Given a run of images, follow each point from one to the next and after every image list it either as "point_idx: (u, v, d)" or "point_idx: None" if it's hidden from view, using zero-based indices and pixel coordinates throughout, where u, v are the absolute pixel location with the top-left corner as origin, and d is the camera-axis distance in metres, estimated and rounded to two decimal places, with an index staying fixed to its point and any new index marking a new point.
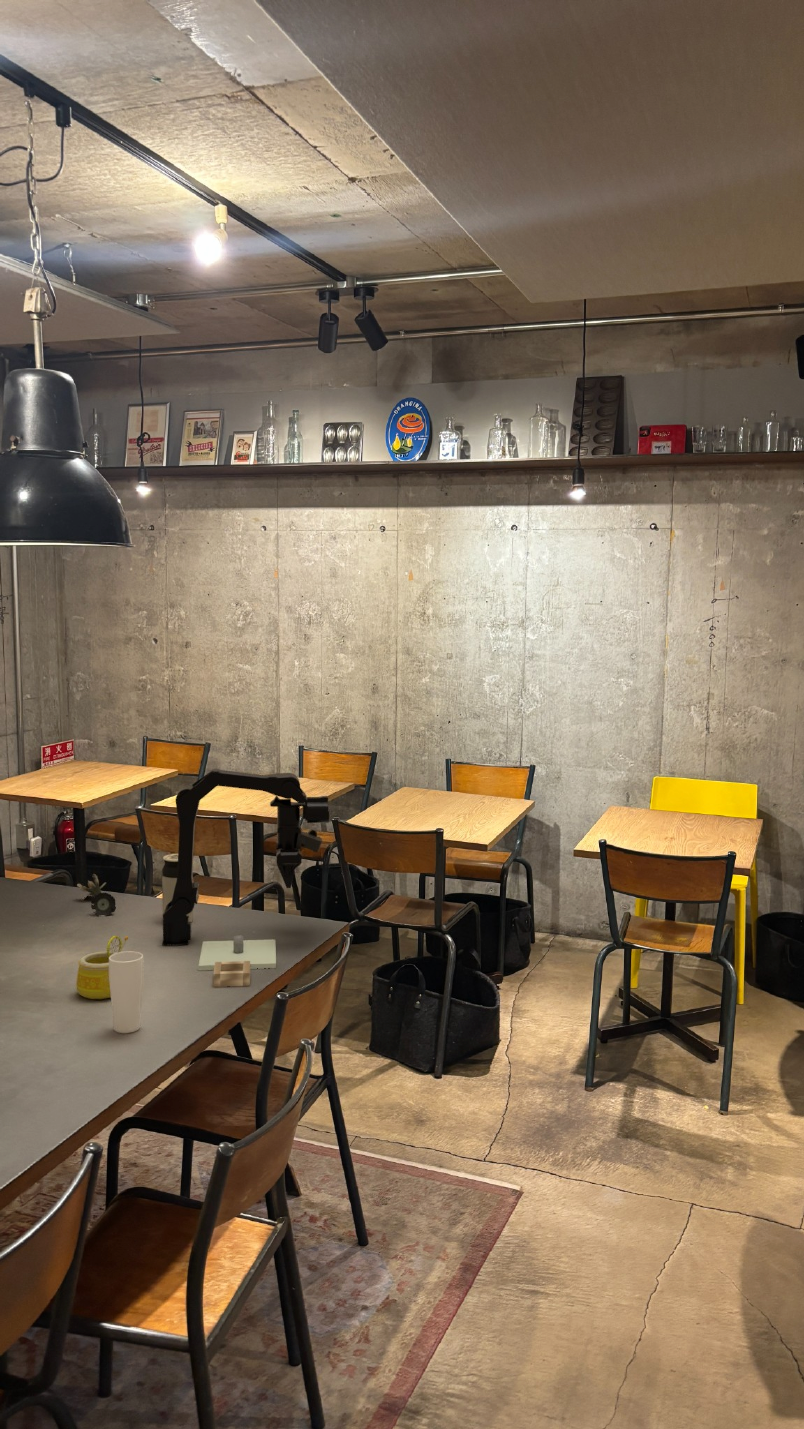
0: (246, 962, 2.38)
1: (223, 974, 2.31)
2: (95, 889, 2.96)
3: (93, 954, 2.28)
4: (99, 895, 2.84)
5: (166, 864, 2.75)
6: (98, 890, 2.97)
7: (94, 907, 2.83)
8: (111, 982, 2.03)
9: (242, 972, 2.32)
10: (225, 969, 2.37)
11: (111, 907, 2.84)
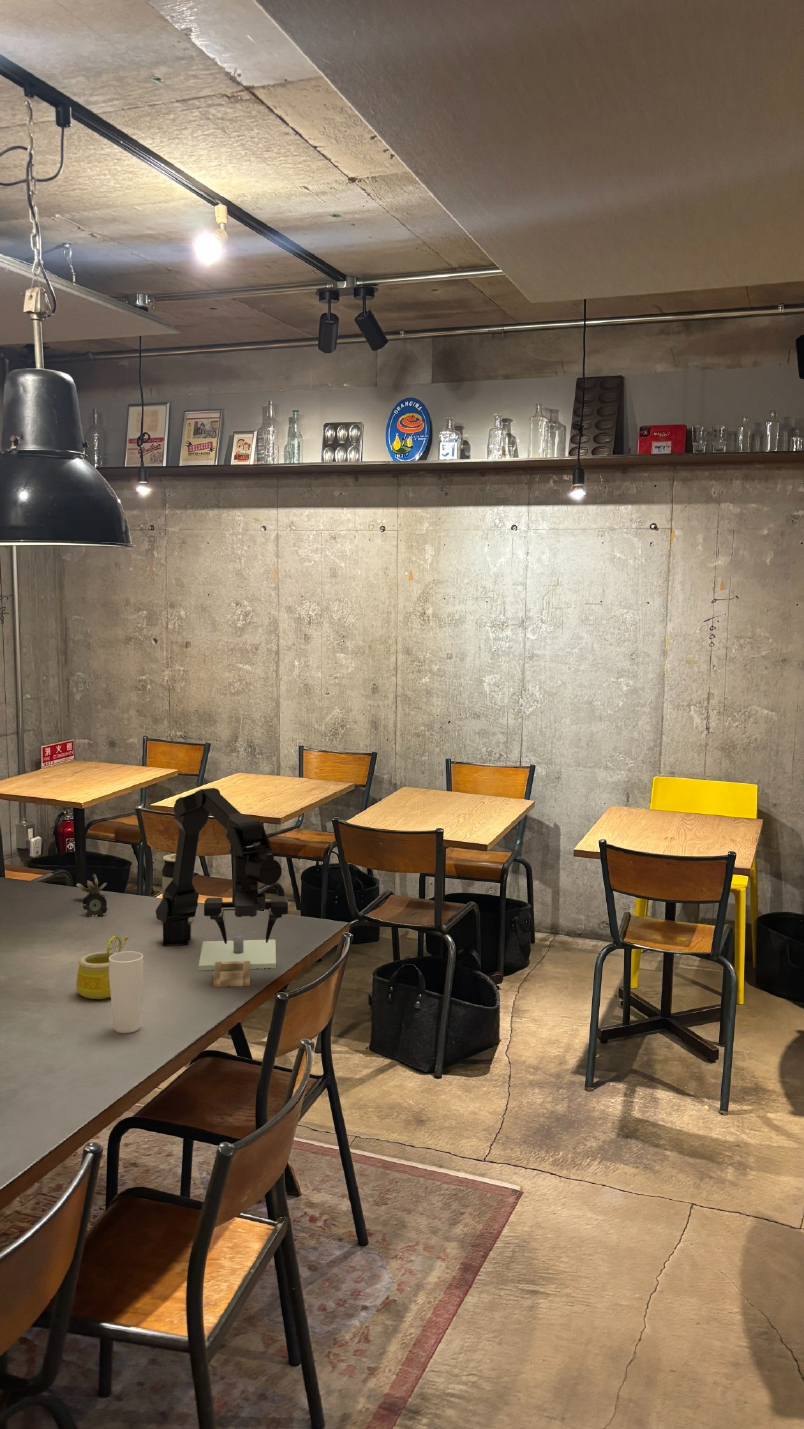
0: (246, 962, 2.38)
1: (223, 974, 2.31)
2: (93, 889, 2.96)
3: (93, 954, 2.28)
4: (91, 896, 2.83)
5: (166, 864, 2.75)
6: (96, 890, 2.96)
7: (86, 908, 2.82)
8: (111, 982, 2.03)
9: (242, 972, 2.32)
10: (225, 969, 2.37)
11: (103, 908, 2.83)
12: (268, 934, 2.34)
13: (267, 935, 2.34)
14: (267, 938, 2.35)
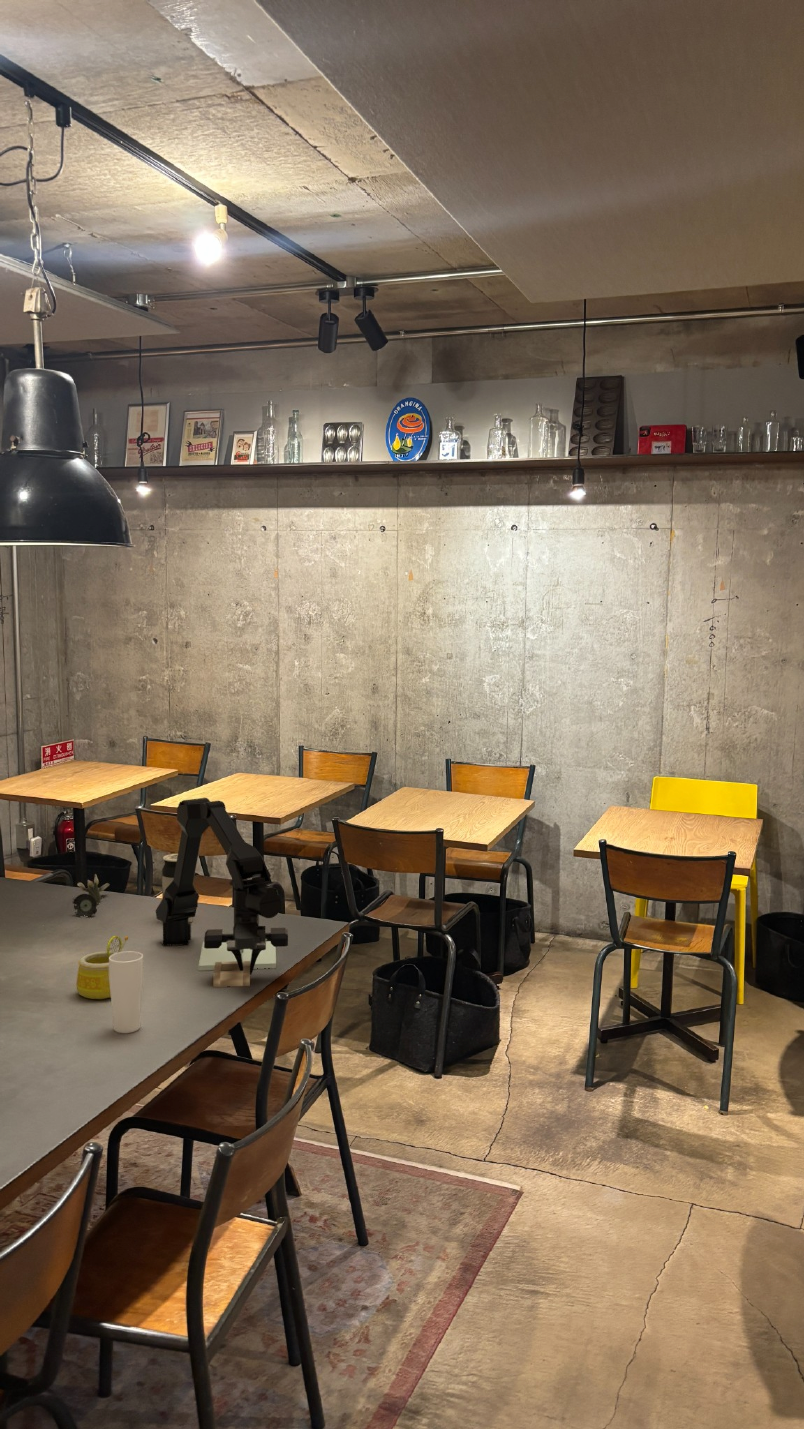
0: (246, 962, 2.38)
1: (223, 974, 2.31)
2: (92, 889, 2.96)
3: (93, 954, 2.28)
4: (82, 896, 2.83)
5: (166, 864, 2.75)
6: (95, 890, 2.96)
7: (76, 907, 2.82)
8: (111, 982, 2.03)
9: (242, 972, 2.32)
10: (225, 969, 2.37)
11: (93, 909, 2.83)
12: (252, 966, 2.34)
13: (251, 967, 2.34)
14: (251, 970, 2.35)
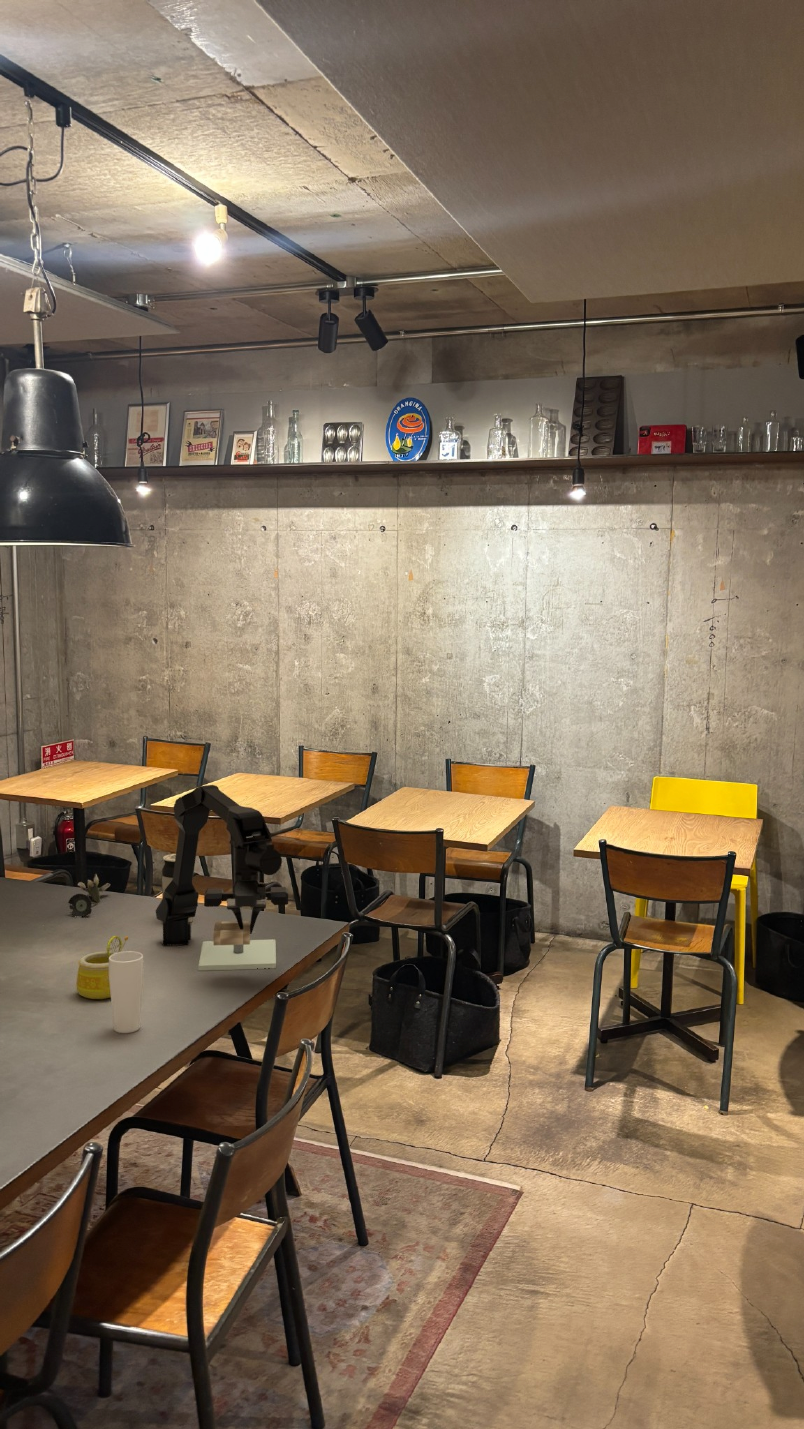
0: (246, 922, 2.37)
1: (223, 932, 2.30)
2: (92, 889, 2.96)
3: (93, 954, 2.28)
4: (78, 896, 2.83)
5: (166, 864, 2.75)
6: (95, 890, 2.96)
7: (72, 907, 2.82)
8: (111, 982, 2.03)
9: (242, 931, 2.31)
10: (225, 929, 2.36)
11: (88, 909, 2.82)
12: (252, 925, 2.33)
13: (251, 926, 2.33)
14: (251, 929, 2.34)
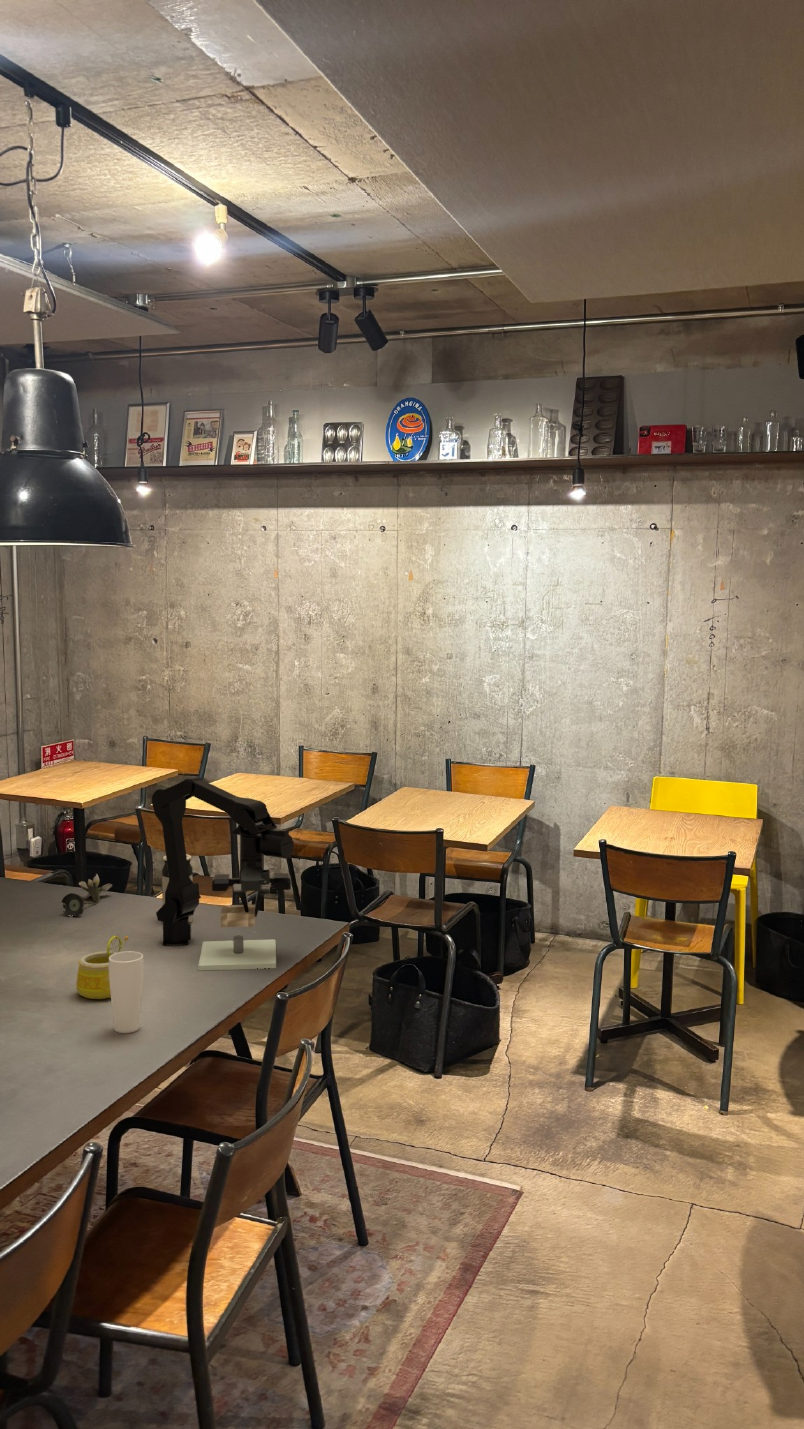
0: (251, 905, 2.53)
1: (230, 915, 2.46)
2: (91, 889, 2.96)
3: (93, 954, 2.28)
4: (71, 895, 2.83)
5: (166, 864, 2.75)
6: (94, 890, 2.96)
7: (65, 907, 2.83)
8: (111, 982, 2.03)
9: (248, 913, 2.47)
10: (231, 912, 2.52)
11: (80, 909, 2.82)
12: (257, 909, 2.50)
13: (256, 910, 2.50)
14: (256, 912, 2.50)
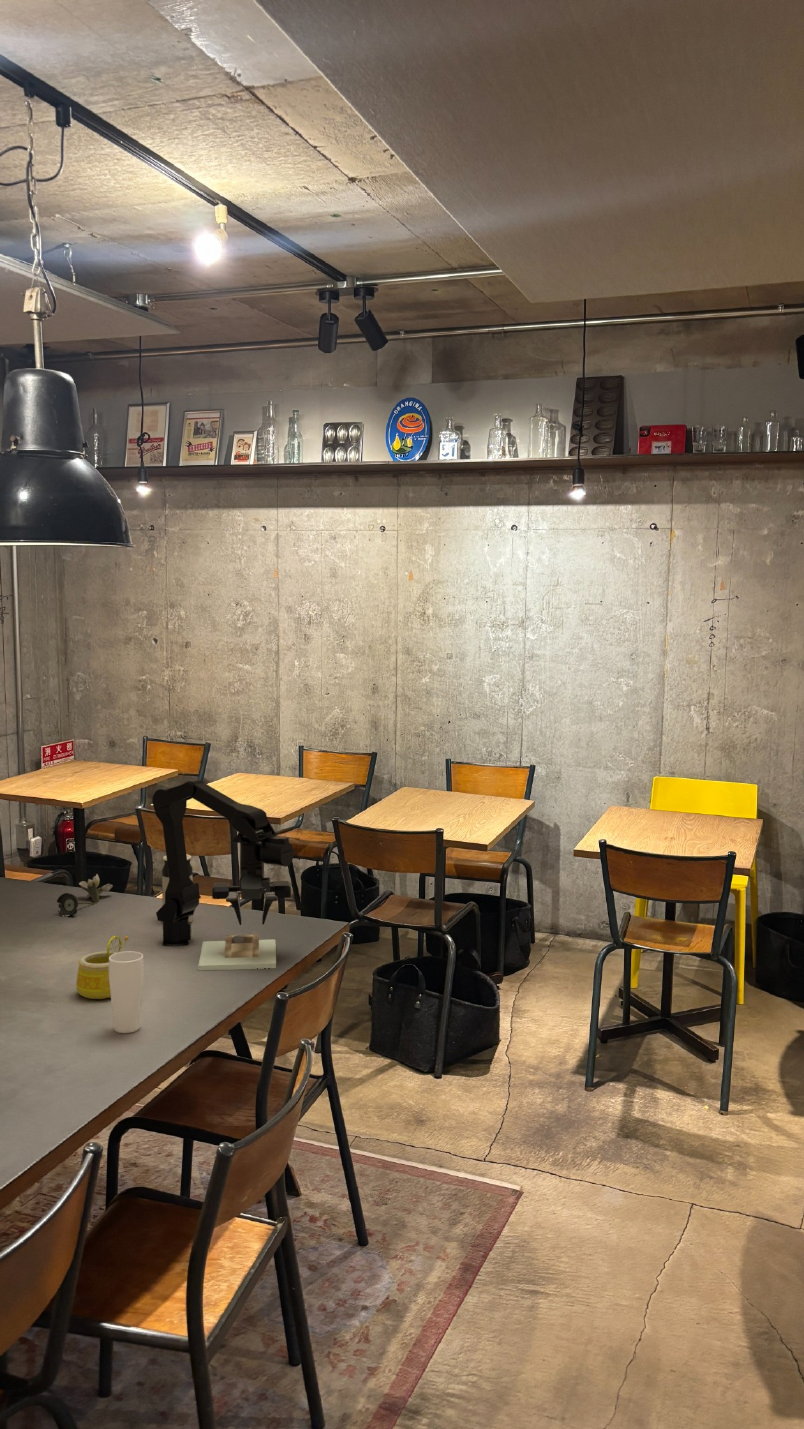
0: (255, 935, 2.54)
1: (234, 946, 2.47)
2: (90, 889, 2.96)
3: (93, 954, 2.28)
4: (66, 895, 2.83)
5: (166, 864, 2.75)
6: (93, 890, 2.96)
7: (60, 906, 2.83)
8: (111, 982, 2.03)
9: (252, 944, 2.48)
10: None
11: (75, 909, 2.82)
12: (264, 916, 2.50)
13: (263, 917, 2.50)
14: (263, 920, 2.50)
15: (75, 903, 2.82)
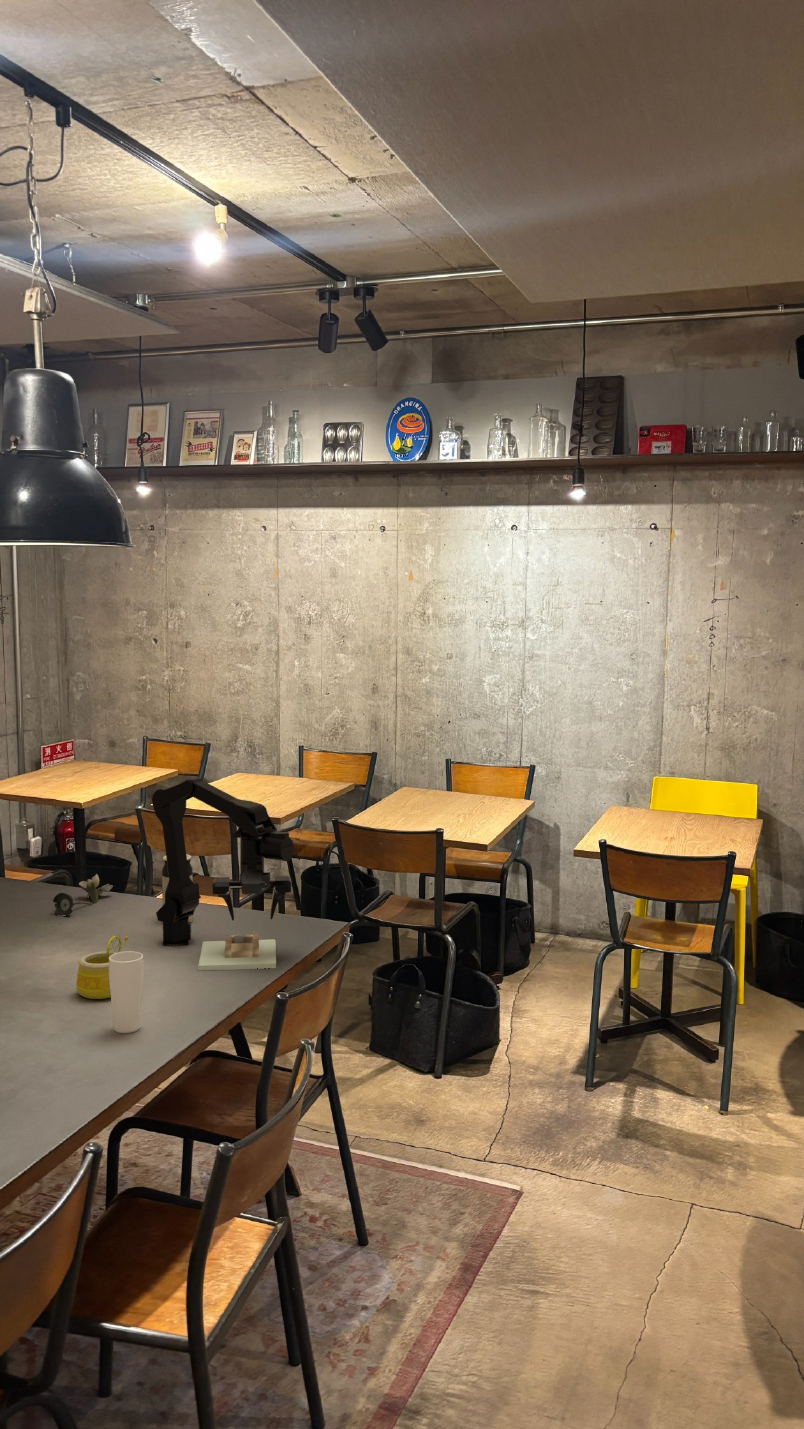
0: (255, 935, 2.54)
1: (234, 946, 2.47)
2: (89, 889, 2.96)
3: (93, 954, 2.28)
4: (62, 895, 2.84)
5: (166, 864, 2.75)
6: (92, 890, 2.96)
7: (56, 906, 2.84)
8: (111, 982, 2.03)
9: (252, 944, 2.48)
10: None
11: (70, 909, 2.82)
12: (273, 911, 2.50)
13: (272, 912, 2.50)
14: (272, 915, 2.50)
15: (70, 903, 2.83)
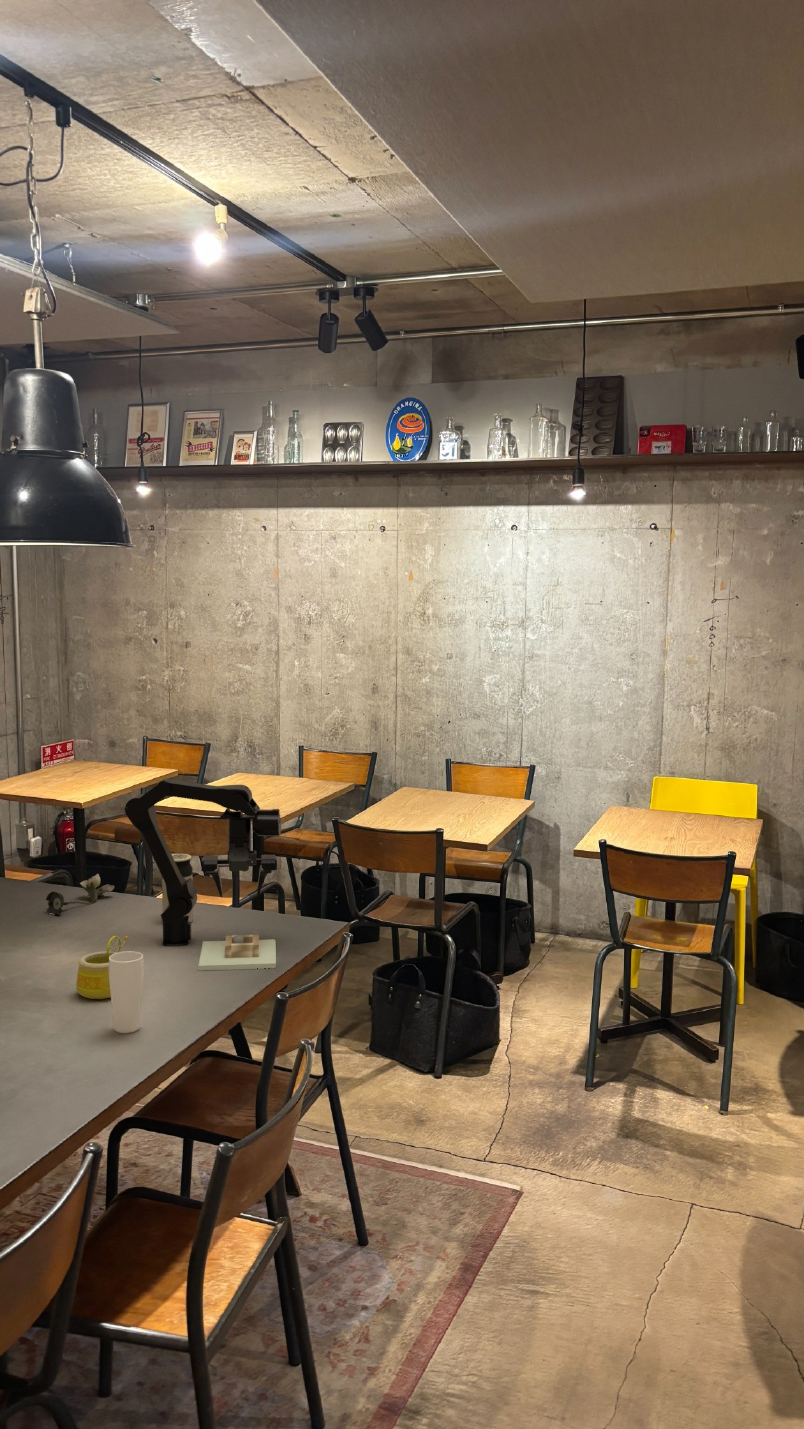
0: (255, 935, 2.54)
1: (234, 946, 2.47)
2: (88, 889, 2.96)
3: (93, 954, 2.28)
4: (55, 893, 2.85)
5: None
6: (91, 890, 2.96)
7: (49, 904, 2.85)
8: (111, 982, 2.03)
9: (252, 944, 2.48)
10: None
11: None
12: (259, 888, 2.60)
13: (258, 889, 2.60)
14: (258, 892, 2.60)
15: (61, 902, 2.83)
